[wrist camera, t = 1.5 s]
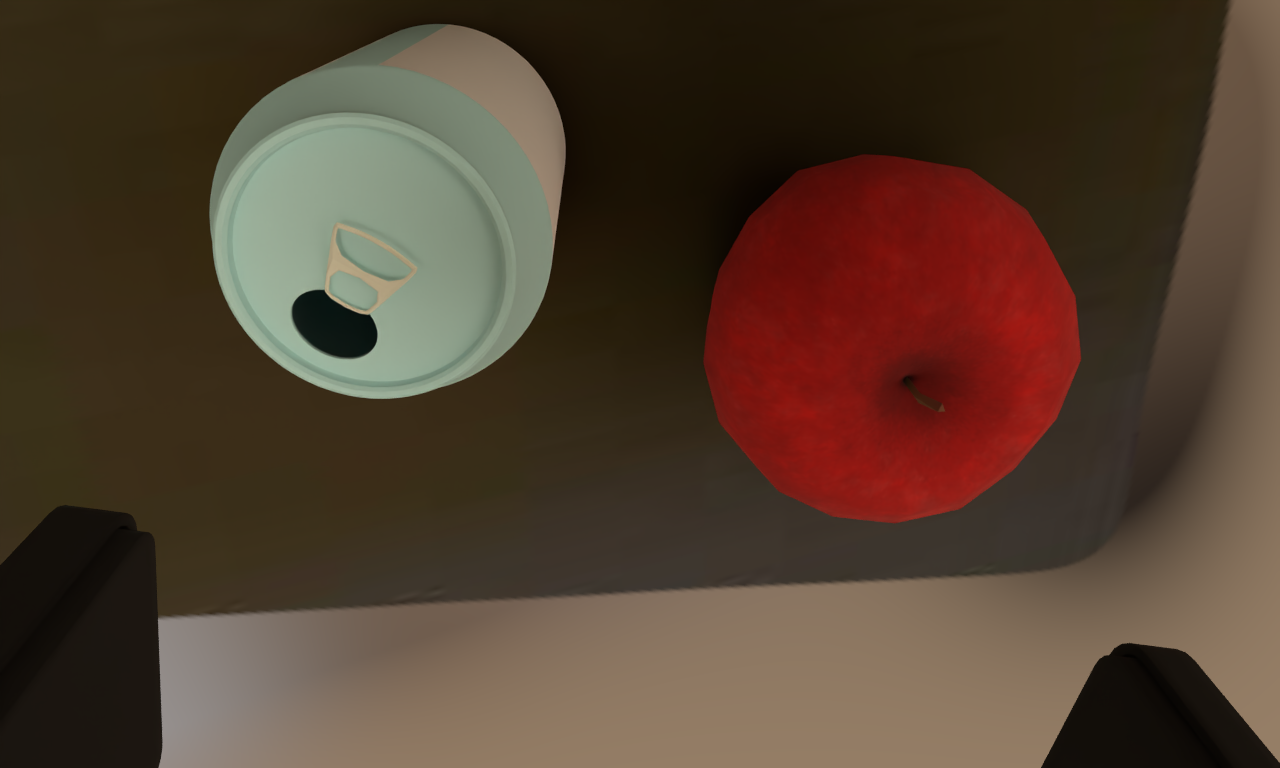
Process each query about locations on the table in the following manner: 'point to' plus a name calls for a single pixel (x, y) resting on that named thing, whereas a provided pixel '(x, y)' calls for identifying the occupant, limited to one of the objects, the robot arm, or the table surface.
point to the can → (392, 212)
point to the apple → (889, 337)
